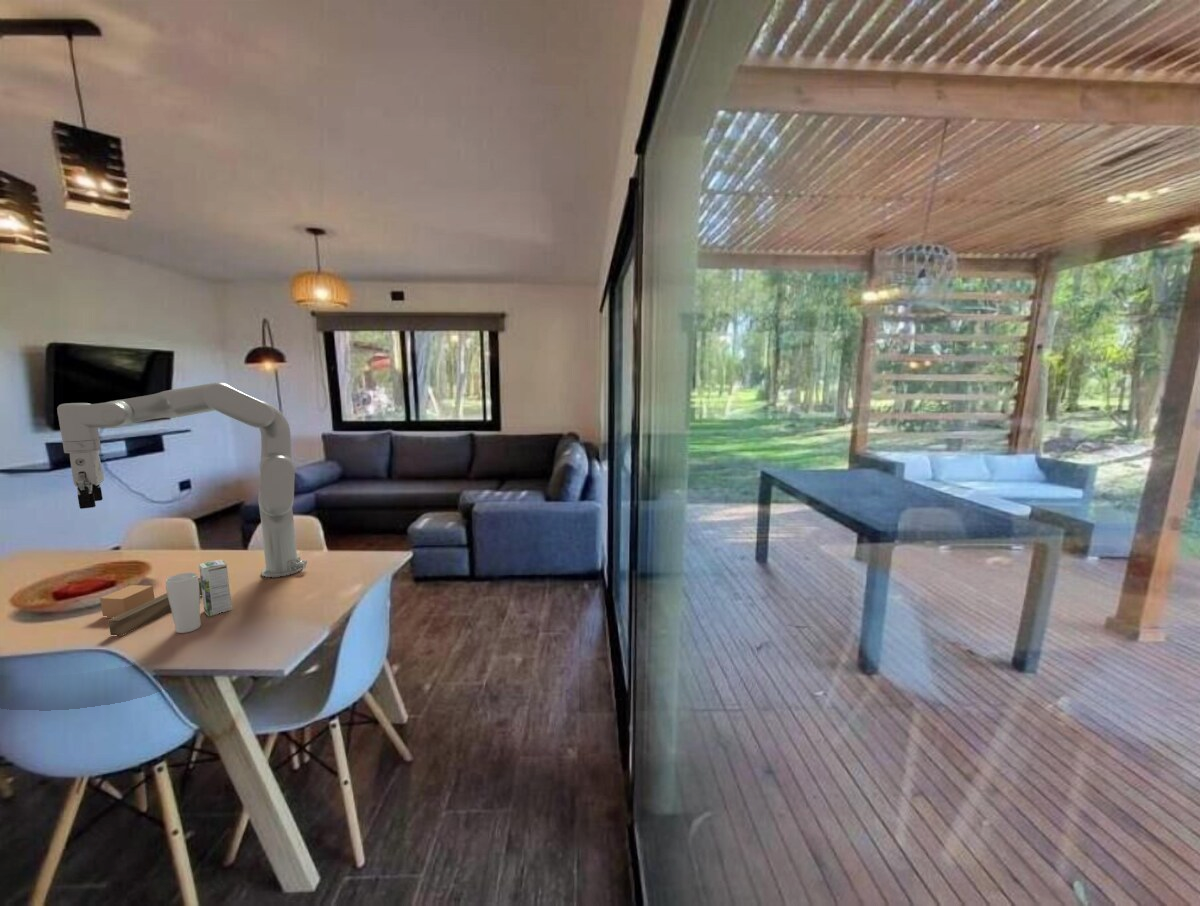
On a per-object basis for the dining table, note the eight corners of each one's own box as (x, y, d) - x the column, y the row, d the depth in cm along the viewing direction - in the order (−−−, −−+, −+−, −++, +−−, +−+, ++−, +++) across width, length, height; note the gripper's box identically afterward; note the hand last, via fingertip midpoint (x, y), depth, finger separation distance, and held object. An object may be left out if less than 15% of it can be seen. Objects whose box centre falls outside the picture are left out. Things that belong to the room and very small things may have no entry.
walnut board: (209, 591, 162) (207, 578, 162) (121, 636, 135) (118, 620, 134) (200, 591, 162) (199, 578, 162) (110, 636, 135) (108, 620, 134)
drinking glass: (169, 637, 134) (161, 584, 132) (176, 626, 140) (169, 574, 138) (201, 631, 137) (194, 579, 135) (206, 621, 143) (200, 570, 141)
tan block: (155, 604, 154) (152, 585, 153) (125, 618, 145) (122, 599, 144) (134, 603, 154) (131, 585, 153) (103, 617, 145) (99, 598, 144)
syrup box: (203, 611, 149) (197, 564, 147) (227, 604, 153) (222, 558, 151) (208, 617, 145) (202, 569, 143) (233, 610, 150) (227, 563, 147)
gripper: (93, 448, 141) (103, 508, 144) (106, 442, 155) (114, 496, 157) (55, 451, 137) (65, 512, 139) (71, 444, 150) (80, 500, 153)
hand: (91, 504), depth 148 cm, fingers open, 9 cm apart
